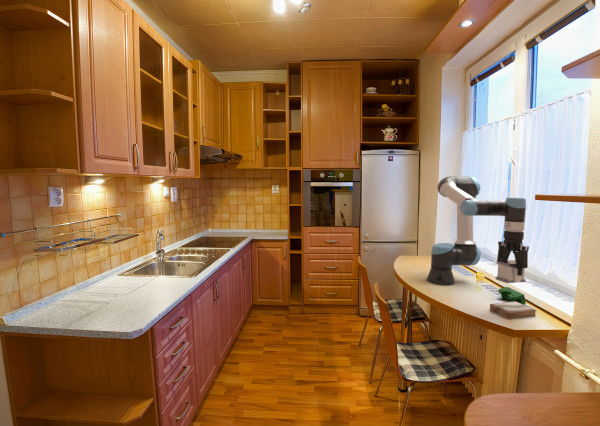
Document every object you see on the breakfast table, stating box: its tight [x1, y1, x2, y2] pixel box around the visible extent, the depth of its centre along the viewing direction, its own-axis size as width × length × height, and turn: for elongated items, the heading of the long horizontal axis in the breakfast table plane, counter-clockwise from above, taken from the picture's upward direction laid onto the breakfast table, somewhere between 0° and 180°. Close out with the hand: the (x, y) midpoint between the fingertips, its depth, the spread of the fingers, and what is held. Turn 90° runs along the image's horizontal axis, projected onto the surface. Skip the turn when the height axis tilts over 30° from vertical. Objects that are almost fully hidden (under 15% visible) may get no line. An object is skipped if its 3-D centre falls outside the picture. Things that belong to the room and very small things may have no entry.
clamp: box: [497, 286, 526, 305], centre depth 152 cm, size 12×6×9 cm, turn 177°
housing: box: [494, 259, 527, 284], centre depth 138 cm, size 6×10×9 cm, turn 102°
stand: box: [489, 301, 537, 320], centre depth 139 cm, size 10×15×3 cm, turn 103°
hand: (510, 279), depth 138 cm, fingers closed on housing, 6 cm apart
